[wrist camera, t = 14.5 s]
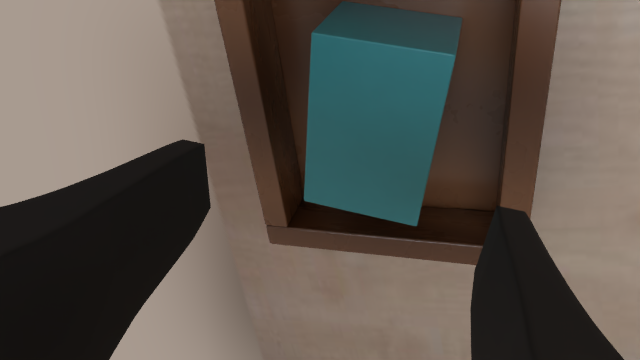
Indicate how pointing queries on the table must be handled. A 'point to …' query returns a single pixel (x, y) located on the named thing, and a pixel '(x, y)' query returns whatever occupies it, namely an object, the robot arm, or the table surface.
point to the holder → (453, 137)
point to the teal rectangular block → (376, 107)
